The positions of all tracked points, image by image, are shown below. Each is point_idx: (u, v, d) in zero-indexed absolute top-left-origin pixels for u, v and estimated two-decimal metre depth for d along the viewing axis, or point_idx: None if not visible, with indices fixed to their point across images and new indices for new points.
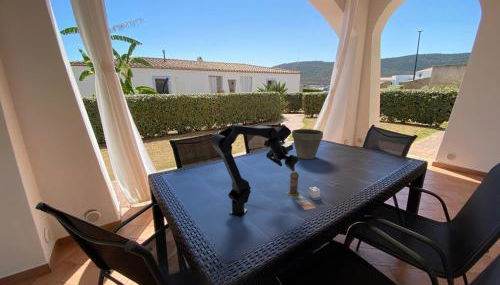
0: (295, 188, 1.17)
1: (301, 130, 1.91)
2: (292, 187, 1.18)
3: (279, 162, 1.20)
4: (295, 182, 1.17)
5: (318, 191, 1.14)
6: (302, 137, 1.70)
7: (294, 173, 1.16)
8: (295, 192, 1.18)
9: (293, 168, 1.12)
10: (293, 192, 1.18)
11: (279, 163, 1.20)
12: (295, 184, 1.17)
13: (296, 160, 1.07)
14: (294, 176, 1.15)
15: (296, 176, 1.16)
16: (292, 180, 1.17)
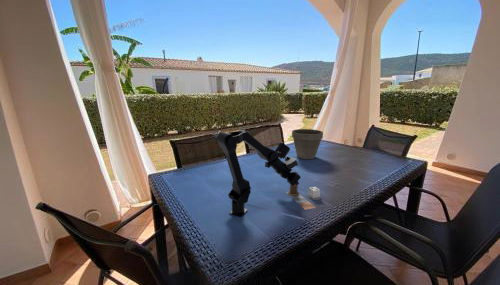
0: (295, 188, 1.17)
1: (301, 130, 1.91)
2: (292, 187, 1.18)
3: None
4: None
5: (318, 191, 1.14)
6: (302, 137, 1.70)
7: None
8: (295, 192, 1.18)
9: (296, 182, 1.15)
10: (293, 192, 1.18)
11: None
12: (295, 184, 1.17)
13: (297, 178, 1.07)
14: None
15: None
16: None
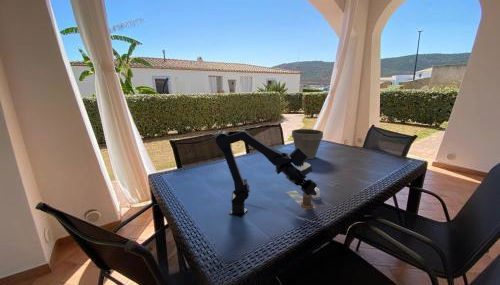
0: (309, 199, 1.06)
1: (301, 130, 1.91)
2: (305, 198, 1.06)
3: (302, 183, 1.10)
4: None
5: (318, 191, 1.14)
6: (302, 137, 1.70)
7: None
8: (309, 204, 1.06)
9: (314, 192, 1.01)
10: (306, 204, 1.06)
11: (301, 184, 1.10)
12: (309, 195, 1.05)
13: (313, 186, 0.95)
14: None
15: None
16: None
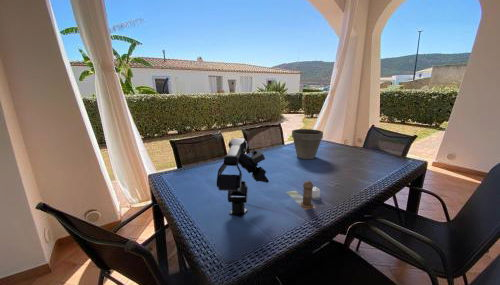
0: (309, 199, 1.06)
1: (301, 130, 1.91)
2: (306, 198, 1.06)
3: None
4: (309, 193, 1.05)
5: (318, 191, 1.14)
6: (302, 137, 1.70)
7: (308, 183, 1.04)
8: (309, 204, 1.06)
9: (266, 180, 1.05)
10: (307, 204, 1.06)
11: None
12: (309, 195, 1.05)
13: (262, 173, 0.99)
14: (308, 186, 1.04)
15: (310, 186, 1.04)
16: (306, 190, 1.05)
